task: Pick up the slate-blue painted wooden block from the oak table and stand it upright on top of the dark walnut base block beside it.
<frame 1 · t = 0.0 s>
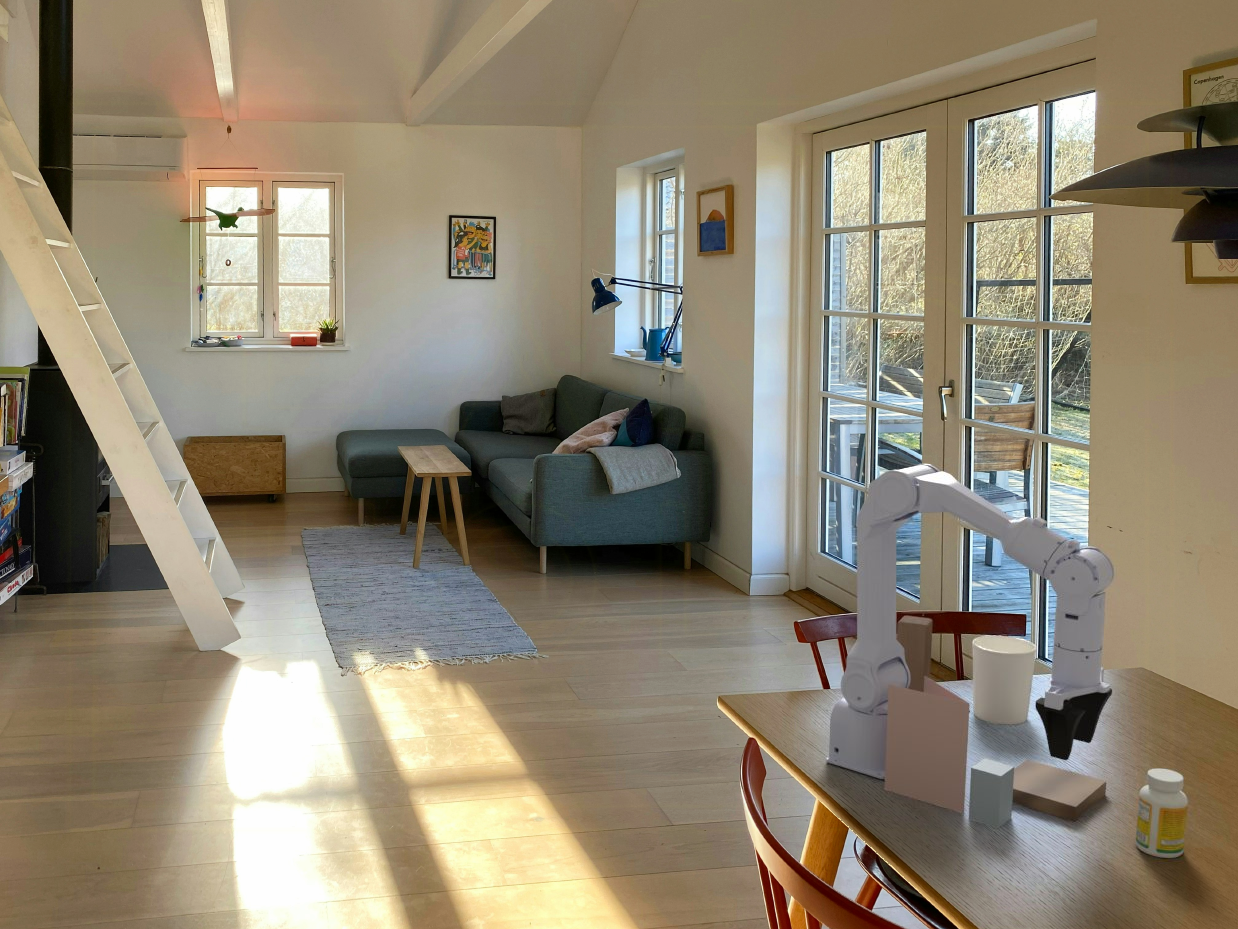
hand: (1071, 749, 147), 10 cm above the table, tool pointing down, fingers open, 7 cm apart
slate block: (990, 818, 150), on the table
walnut base: (1049, 796, 157), on the table
greeting card: (922, 799, 156), on the table
wooden block: (924, 736, 179), on the table
candle holder: (1000, 717, 188), on the table
supplement bottle: (1159, 850, 142), on the table
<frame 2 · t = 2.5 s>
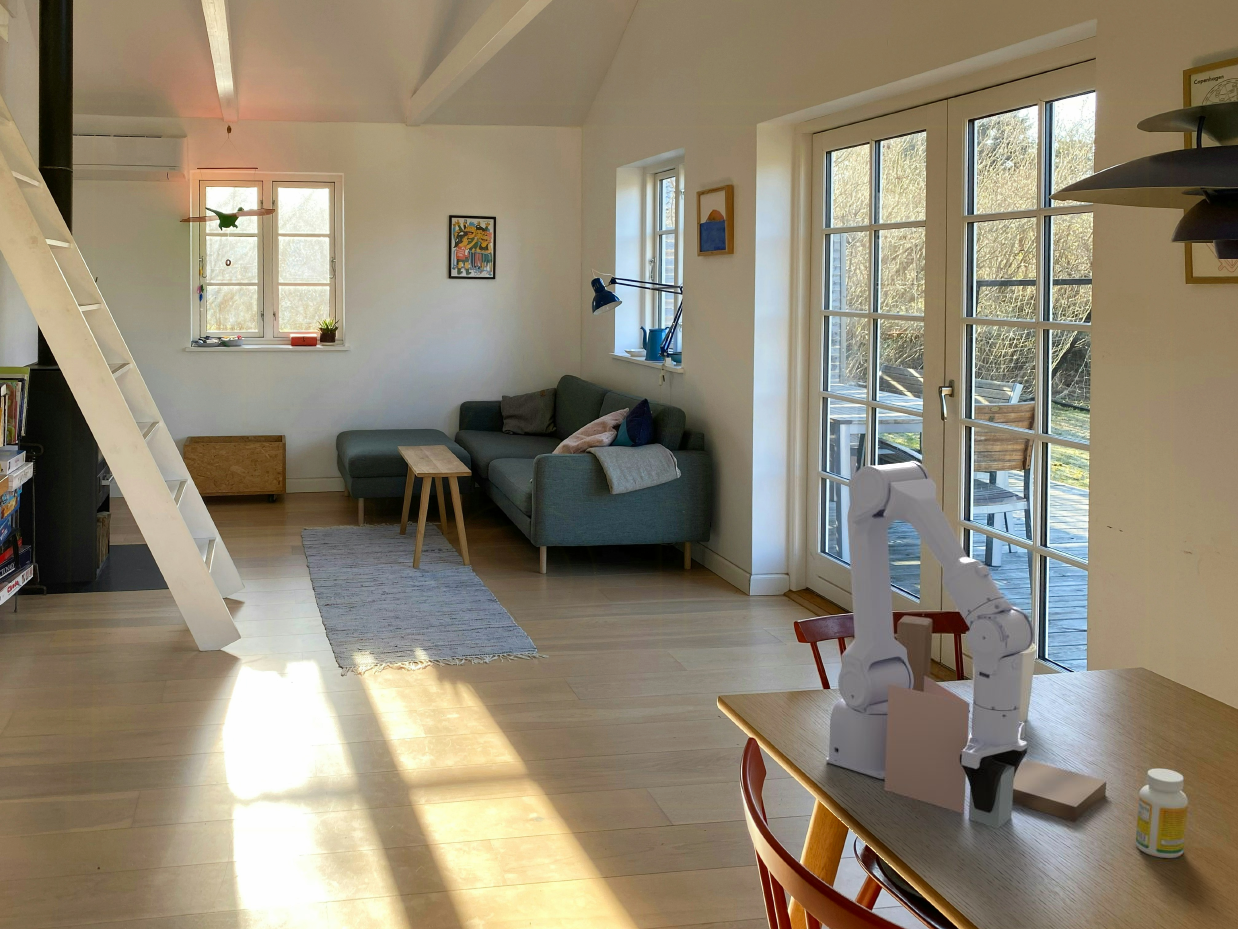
hand: (990, 804, 150), 2 cm above the table, tool pointing down, fingers closed on slate block, 4 cm apart
slate block: (990, 818, 150), on the table, touching gripper
everything else where it was.
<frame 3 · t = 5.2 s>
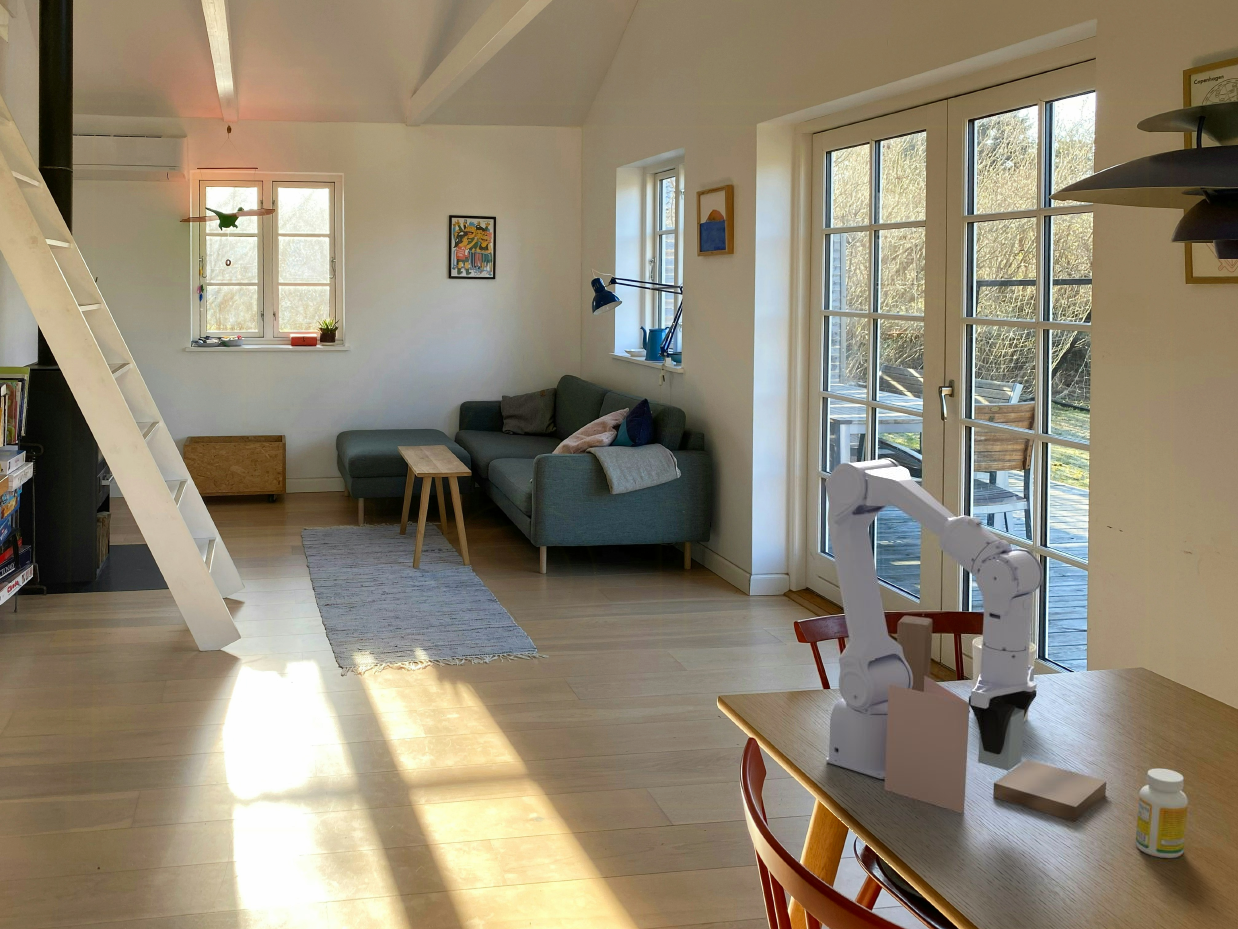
hand: (1000, 747, 150), 9 cm above the table, tool pointing down, fingers closed on slate block, 4 cm apart
slate block: (999, 762, 150), point 7 cm above the table, touching gripper
everything else where it was.
when the fingers open (5 cm above the table, at t = 7.9 s): slate block drops 1 cm, resting on walnut base.
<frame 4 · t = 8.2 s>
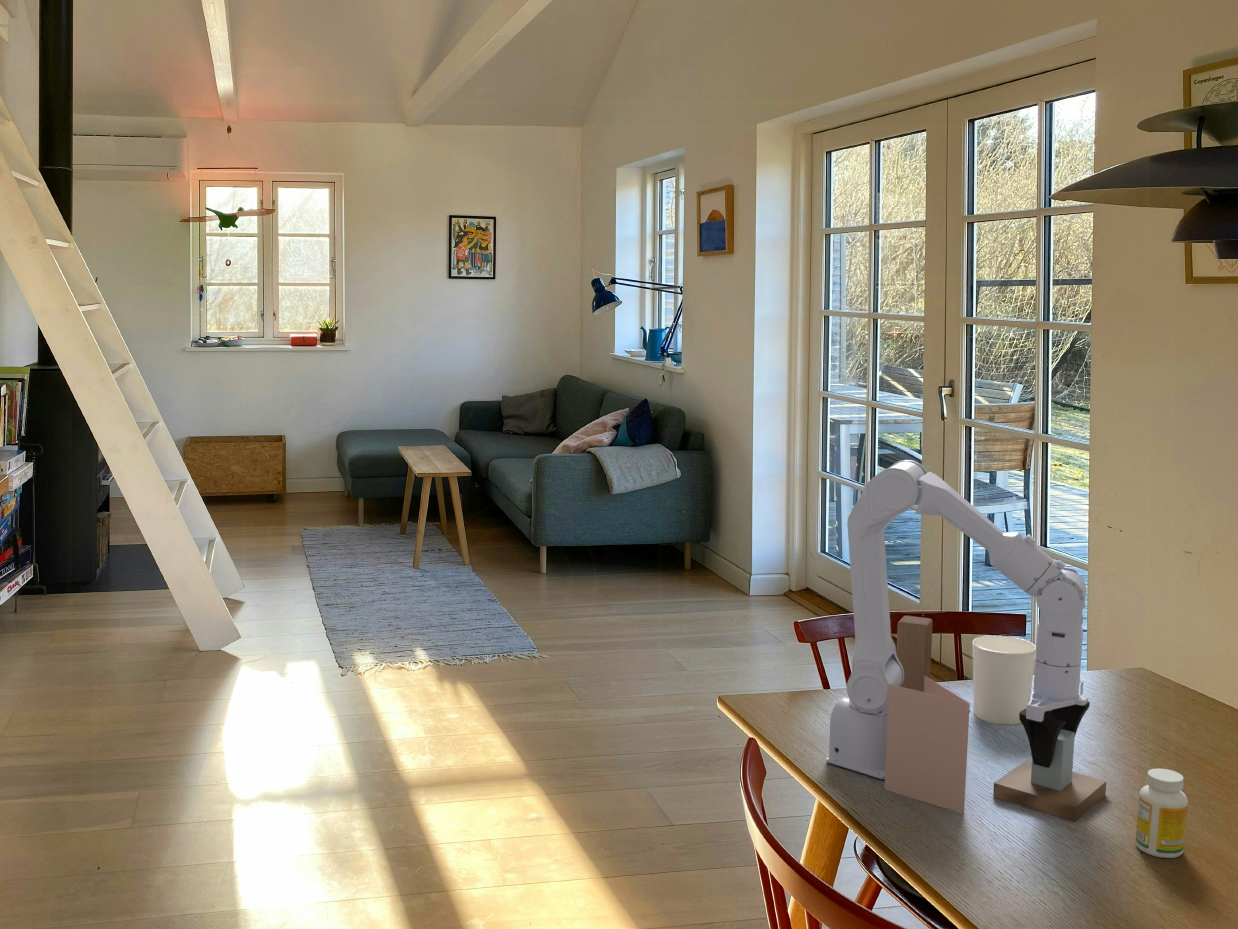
hand: (1051, 758, 156), 5 cm above the table, tool pointing down, fingers open, 6 cm apart
slate block: (1051, 782, 157), point 2 cm above the table, touching walnut base
everything else where it was.
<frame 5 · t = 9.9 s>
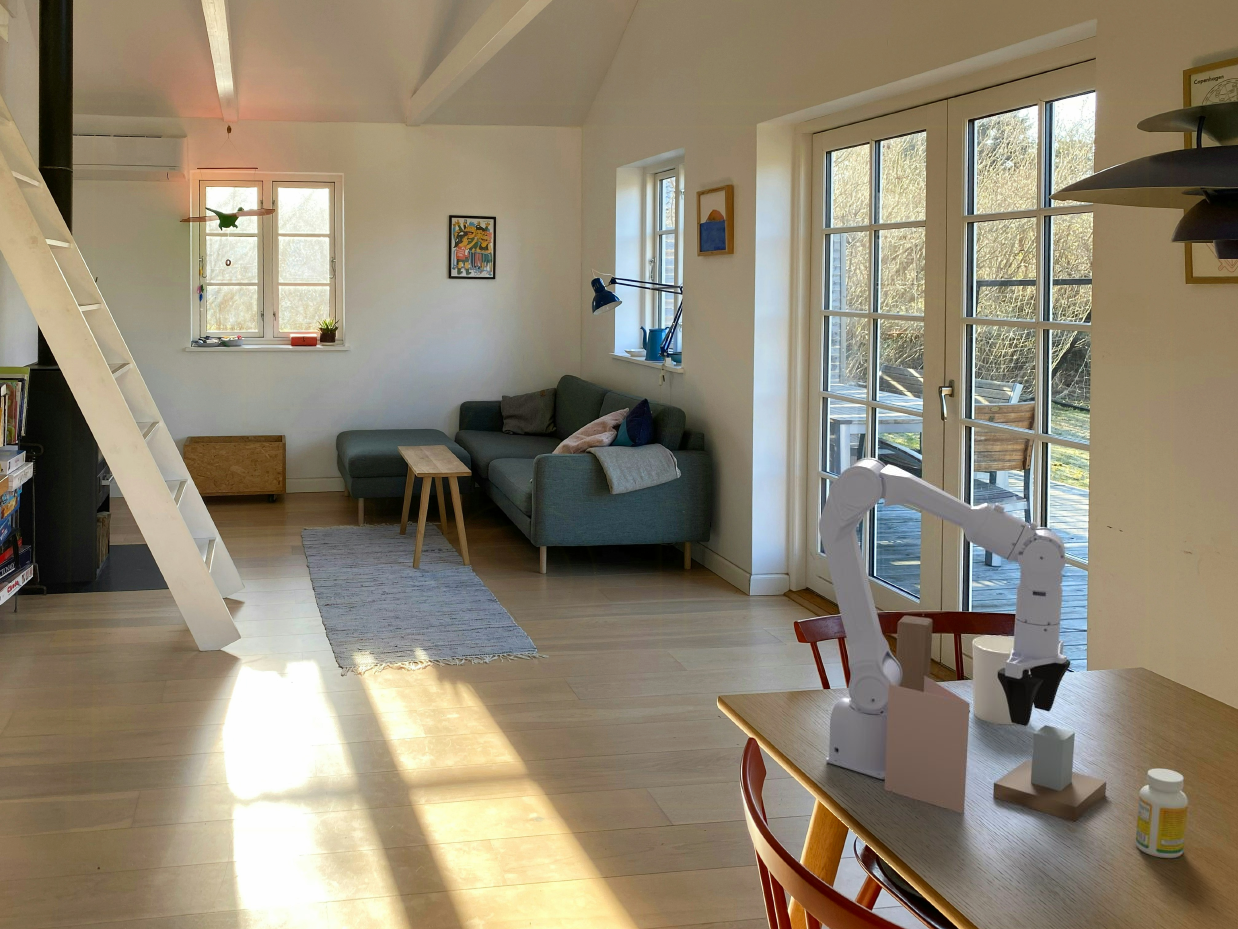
hand: (1031, 716, 158), 10 cm above the table, tool pointing down, fingers open, 7 cm apart
nothing on the table moved.
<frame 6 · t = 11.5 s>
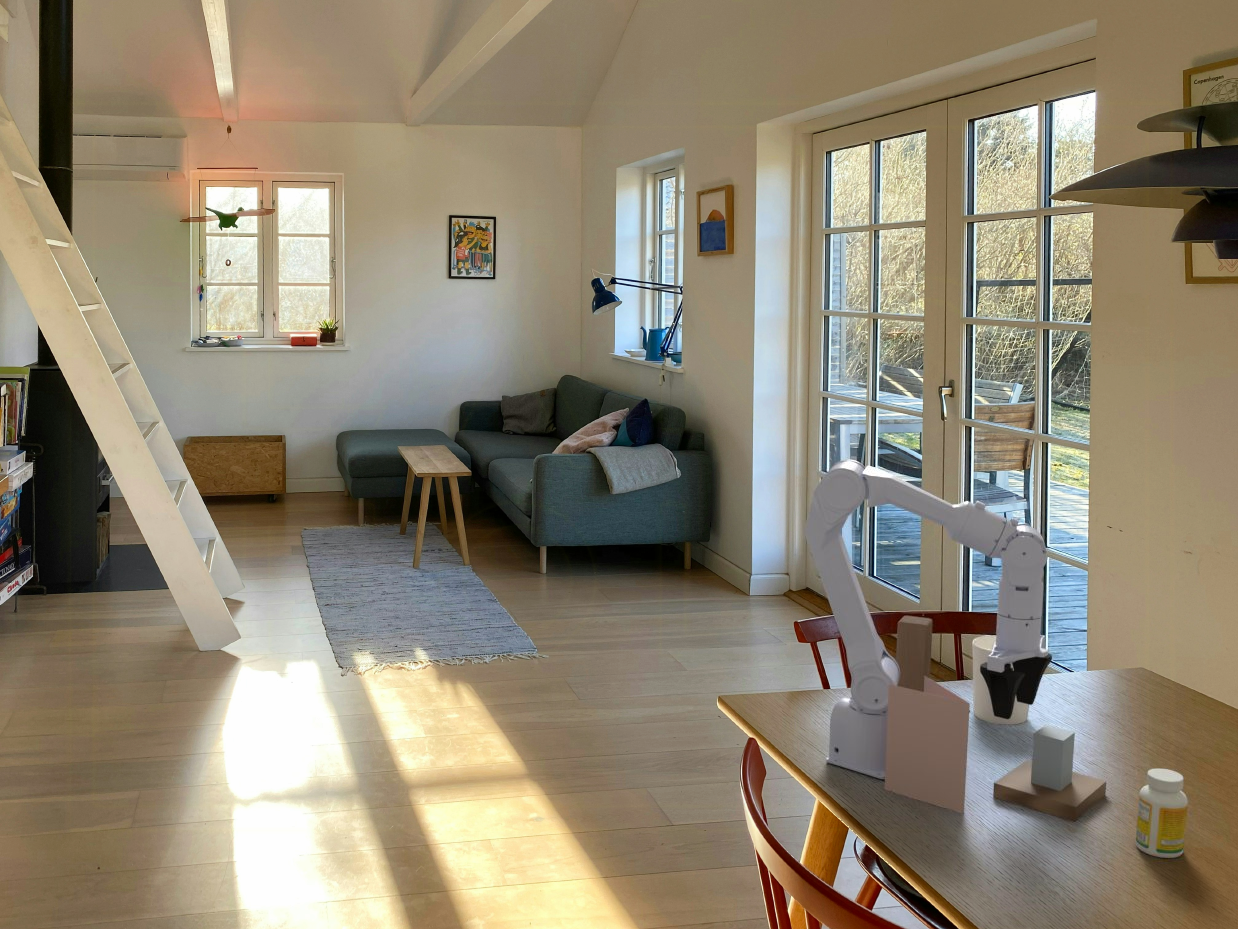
hand: (1013, 709, 160), 10 cm above the table, tool pointing down, fingers open, 7 cm apart
nothing on the table moved.
at the end: slate block 0.1 cm off-centre on the walnut base, point 2.0 cm above the walnut base's base; slate block tilted 0°; the gripper is holding nothing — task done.
